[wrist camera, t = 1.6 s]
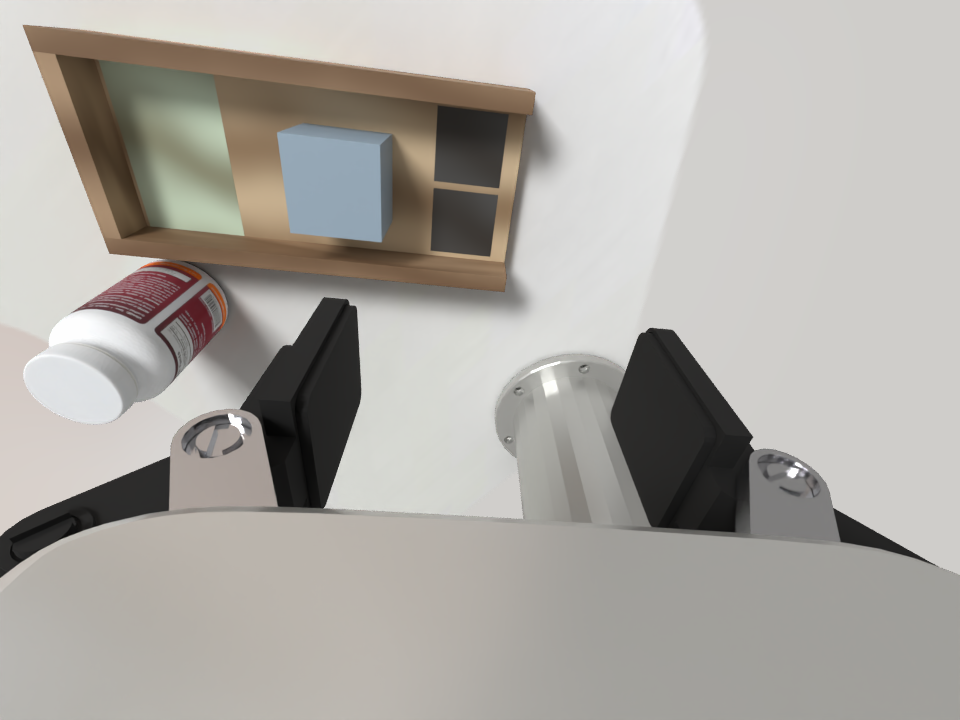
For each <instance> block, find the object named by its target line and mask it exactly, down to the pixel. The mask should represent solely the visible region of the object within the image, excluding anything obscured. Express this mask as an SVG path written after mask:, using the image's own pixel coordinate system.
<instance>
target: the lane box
mask: <svg viewBox="0 0 960 720" xmlns="http://www.w3.org/2000/svg"><path fill="white" fill-rule="evenodd" d="M23 28H24V30H25V33H26V35H27V38H28V41H29V43H30V46H31V49H32V51H33V54H34V56H35V59H36V62H37V64H38V67H39V70H40V72H41V75H42V78H43V80H44V83H45V85H46V88H47V91H48V93H49V96H50V99H51V101H52V104H53V106H54V109H55V112H56V114H57V117H58V120H59V122H60V125H61V127H62V130H63V133H64V135H65V138H66V141H67V143H68V146H69V148H70V151H71V154H72V156H73V159H74V162H75V164H76V167H77V169H78V172H79V175H80V177H81V180H82V183H83V185H84V188H85V190H86V193H87V196H88V198H89V201H90V204H91V206H92V209H93V212H94V214H95V217H96V219H97V222H98V225H99V227H100V230H101V233H102V235H103V238H104V240H105V243H106V246H107V248H108V251H109V254H118V255H128V256H139V257H149V258H159V259H170V260H180V261H190V262H200V263H211V264H221V265H231V266H242V267H252V268H262V269H273V270H283V271H293V272H303V273H314V274H324V275H334V276H345V277H355V278H365V279H375V280H386V281H396V282H406V283H417V284H427V285H437V286H447V287H458V288H468V289H478V290H489V291H499V292H505V285H506V279H507V276H506V270H505V263H504V262H505V255H506V248H507V242H508V235H509V228H510V222H511V215H512V208H513V202H514V195H515V189H516V182H517V175H518V169H519V162H520V155H521V149H522V142H523V135H524V129H525V122H526V116H527V115H532V113H533V107H534V101H535V94H536V92H534V91H532V90H530V89H526V88H519V87H511V86H503V85H496V84H488V83H481V82H473V81H466V80H458V79H451V78H443V77H435V76H428V75H420V74H413V73H405V72H398V71H390V70H382V69H375V68H367V67H360V66H352V65H345V64H337V63H329V62H322V61H314V60H307V59H299V58H292V57H284V56H276V55H269V54H261V53H254V52H246V51H239V50H231V49H224V48H216V47H208V46H201V45H193V44H186V43H178V42H171V41H163V40H155V39H148V38H140V37H133V36H125V35H118V34H110V33H102V32H95V31H87V30H80V29H68V28H55V27H43V26H31V25H23ZM302 123H308V124H316V125H324V126H332V127H340V128H349V129H357V130H365V131H373V132H382V133H390V134H392V223H391V225H390V227H389V229H388V231H387V233H386V235H385V237H384V239H383V241H382V242H373V241H363V240H354V239H344V238H334V237H325V236H315V235H305V234H296V233H290V226H289V219H288V211H287V204H286V197H285V189H284V182H283V174H282V167H281V159H280V152H279V144H278V137H277V132H280V131H282V130H285V129H288V128H291V127H293V126H296V125H299V124H302Z"/></svg>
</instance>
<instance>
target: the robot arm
mask: <svg viewBox="0 0 960 720" xmlns="http://www.w3.org/2000/svg"><path fill="white" fill-rule="evenodd" d="M360 400H361V376H360V357H359V338H358V320H357V308H356V306H350V305H349V301H348V300H347V299H336V298H325V297H324V298H323V299H322V301H321V302H320V304H319V305H318V307H317V309H316V310H315V312H314V313H313V315H312V316H311V318H310V319H309V321H308V323H307V324H306V326H305V327H304V329H303V330H302V332H301V333H300V335H299V337H298V338H297V340H296V341H295V343H294V344H293V346H291V345H285V346H283V347H282V348H281V349H280V350H279V352H278V353H277V355H276V356H275V358H274V359H273V361H272V362H271V364H270V365H269V367H268V368H267V370H266V371H265V373H264V374H263V375H262V377H261V378H260V380H259V381H258V383H257V384H256V386H255V387H254V389H253V390H252V392H251V393H250V395H249V396H248V398H247V399H246V401H245V402H244V403H243V405H242V406H241V408H240V409H239V410H237V409H224V410H216V411H213V412H209V413H206V414H202V415H200V416H198V417H196V418H194V419H192V420H190V421H189V422H188V423H186V424H185V425H184V426H182V427H181V428H180V429H179V430H178V431H177V433H176V434H175V435H174V437H173V440H172V443H171V452H170V457H167V458H165V459H162V460H160V461H158V462H155V463H153V464H151V465H148V466H146V467H143V468H141V469H138V470H136V471H134V472H131V473H129V474H126V475H124V476H122V477H119V478H117V479H114V480H112V481H110V482H107V483H105V484H102V485H100V486H98V487H95V488H93V489H91V490H88V491H86V492H83V493H81V494H78V495H76V496H74V497H71V498H69V499H66V500H64V501H62V502H59V503H57V504H54V505H52V506H50V507H47V508H45V509H43V510H40V511H38V512H36V513H34V514H32V515H30V516H28V517H26V518H24V519H22V520H21V521H19V522H18V523H17V524H15V525H14V526H12V527H11V528H10V529H8V530H7V531H5V532H4V534H3V535H2V536H0V720H960V575H958V574H956V573H953V572H951V571H948V570H945V569H943V568H940V567H938V566H936V565H935V564H933V563H931V562H929V561H927V560H925V559H923V558H922V557H920V556H918V555H916V554H915V553H913V552H911V551H909V550H907V549H906V548H904V547H902V546H900V545H899V544H897V543H895V542H893V541H891V540H890V539H888V538H886V537H884V536H882V535H881V534H879V533H877V532H875V531H874V530H872V529H870V528H868V527H866V526H864V525H863V524H861V523H859V522H857V521H856V520H854V519H852V518H850V517H848V516H847V515H845V514H843V513H841V512H839V511H837V510H836V509H834V508H833V506H832V501H831V497H830V492H829V489H828V487H827V485H826V483H825V481H824V480H823V479H822V478H821V476H820V475H819V474H818V473H817V472H816V471H815V470H813V469H812V468H811V467H810V466H808V465H807V464H806V463H804V462H803V461H801V460H799V459H798V458H795V457H794V456H791V455H789V454H787V453H784V452H781V451H777V450H773V449H760V450H755V451H754V449H753V448H752V447H751V445H750V444H749V443H750V441H751V439H752V438H753V436H752V435H751V433H750V432H749V431H748V429H747V428H746V427H745V425H744V424H743V423H742V421H741V420H740V419H739V418H738V416H737V415H736V413H735V412H734V411H733V409H732V408H731V407H730V405H729V404H728V403H727V401H726V400H725V399H724V397H723V396H722V395H721V393H720V392H719V391H718V390H717V388H716V387H715V385H714V384H713V383H712V381H711V380H710V379H709V377H708V376H707V375H706V373H705V372H704V371H703V369H702V368H701V367H700V365H699V364H698V363H697V361H696V360H695V358H694V357H693V356H692V354H691V353H690V352H689V350H688V349H687V348H686V346H685V345H684V344H683V342H682V341H681V340H680V338H679V337H678V336H677V334H676V333H675V332H674V331H673V330H668V329H657V328H649V329H648V330H647V331H646V333H641V334H640V335H639V337H638V339H637V342H636V344H635V347H634V350H633V353H632V355H631V358H630V361H629V363H628V366H627V369H626V371H624V370H623V369H622V368H621V367H620V366H618V365H616V364H614V363H613V362H611V361H609V360H606V359H603V358H600V357H597V356H591V355H583V354H571V355H561V356H556V357H551V358H548V359H545V360H542V361H539V362H537V363H535V364H533V365H531V366H529V367H527V368H526V369H524V370H522V371H521V372H520V373H519V374H517V375H516V376H515V377H514V378H512V380H511V381H510V382H509V383H508V384H507V385H506V386H505V388H504V389H503V391H502V393H501V395H500V396H499V398H498V401H497V405H496V408H495V425H496V432H497V435H498V437H499V440H500V442H501V443H502V445H503V446H504V448H505V449H506V450H507V451H508V452H509V453H510V454H511V455H512V456H514V457H515V458H517V464H518V473H519V482H520V491H521V501H522V509H523V519H511V518H494V517H477V516H459V515H441V514H422V513H404V512H385V511H367V510H348V509H324V507H325V505H326V502H327V499H328V496H329V493H330V490H331V488H332V485H333V482H334V479H335V476H336V473H337V470H338V467H339V464H340V461H341V458H342V455H343V452H344V449H345V446H346V443H347V440H348V437H349V434H350V431H351V428H352V425H353V422H354V419H355V416H356V413H357V410H358V407H359V404H360Z"/></svg>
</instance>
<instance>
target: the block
mask: <svg viewBox="0 0 960 720" xmlns="http://www.w3.org/2000/svg"><path fill="white" fill-rule="evenodd" d="M277 137H278V144H279V152H280V159H281V167H282V174H283V182H284V189H285V197H286V204H287V211H288V219H289V226H290V233H296V234H305V235H315V236H325V237H334V238H344V239H354V240H363V241H373V242H382V241H383V239H384V237H385V235H386V233H387V231H388V229H389V227H390V225H391V223H392V134H390V133H382V132H373V131H365V130H357V129H349V128H340V127H332V126H324V125H316V124H308V123H302V124H299V125H296V126H293V127H291V128H288V129H285V130H282V131H280V132H277Z"/></svg>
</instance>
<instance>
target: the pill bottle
mask: <svg viewBox="0 0 960 720" xmlns="http://www.w3.org/2000/svg"><path fill="white" fill-rule="evenodd" d="M227 316H228V304H227V300H226V297H225V295H224V293H223V291H222V289H221V288H220V286H219V285H218V284H217V283H216V282H215V281H214V280H213V279H212V278H211V277H210V276H209V275H208V274H206V273H205V272H204V271H202V270H200V269H199V268H197V267H195V266H193V265H191V264H188V263H185V262H182V261H177V260H169V259H164V260H157V261H153V262H151V263H148V264H147V265H145V266H143V267H141V268H140V269H138V270H137V271H135V272H133V273H132V274H130V275H129V276H127V277H126V278H124V279H123V280H121V281H120V282H118V283H117V284H115V285H114V286H112V287H110V288H109V289H108V290H106V291H104V292H103V293H101V294H100V295H98V296H97V297H95V298H93V299H92V300H90V301H89V302H87V303H86V304H84V305H83V306H81V307H80V308H78V309H77V310H75V311H73V312H72V313H70V314H69V315H67V316H66V317H65V318H63V319H62V320H61V321H59V322H58V323H57V325H56V326H55V327H54V328H53V330H52V332H51V335H50V338H49V348H48V349H46V350H45V351H43V352H42V353H40V354H39V355H37V356H36V357H34V358H33V359H31V360H30V361H29V362H28V363H27V365H26V366H25V368H24V374H23V376H24V381H25V384H26V386H27V388H28V390H29V391H30V393H31V394H32V395H33V396H34V397H35V399H36V400H37V401H38V402H40V403H41V404H42V405H43V406H45V407H46V408H48V409H49V410H50V411H52V412H54V413H56V414H58V415H59V416H62V417H64V418H67V419H69V420H72V421H75V422H79V423H85V424H93V425H97V424H106V423H110V422H112V421H114V420H116V419H117V418H119V417H120V416H121V415H122V414H123V413H125V412H126V411H127V410H128V409H129V408H130V407H131V406H132V405H133V403H134V402H142V401H146V400H149V399H151V398H154V397H156V396H157V395H159V394H160V393H162V392H163V391H164V390H165V389H166V388H167V387H168V386H169V385H170V384H171V383H172V382H173V381H174V380H175V378H176V377H177V376H178V375H179V374H180V373H181V372H182V371H183V370H184V369H185V367H186V366H187V365H188V364H189V363H190V362H191V361H192V360H193V359H194V358H195V357H196V356H197V354H198V353H199V352H200V351H201V350H202V349H203V348H204V347H205V346H206V345H207V344H208V342H209V341H210V340H211V339H212V338H213V337H214V336H215V335H216V334H217V333H218V332H219V330H220V329H221V328H222V327H223V325H224V324H225V322H226V319H227Z"/></svg>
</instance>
